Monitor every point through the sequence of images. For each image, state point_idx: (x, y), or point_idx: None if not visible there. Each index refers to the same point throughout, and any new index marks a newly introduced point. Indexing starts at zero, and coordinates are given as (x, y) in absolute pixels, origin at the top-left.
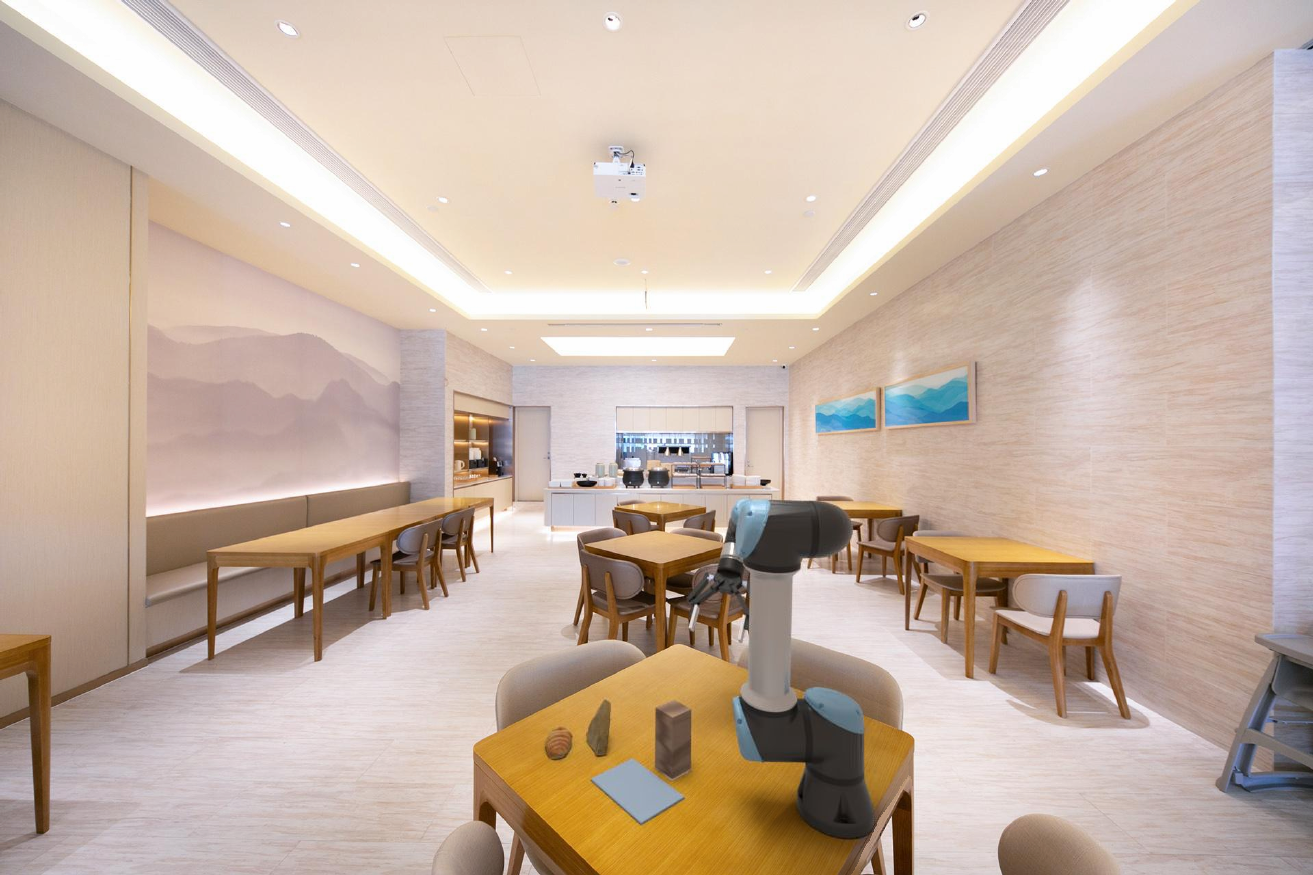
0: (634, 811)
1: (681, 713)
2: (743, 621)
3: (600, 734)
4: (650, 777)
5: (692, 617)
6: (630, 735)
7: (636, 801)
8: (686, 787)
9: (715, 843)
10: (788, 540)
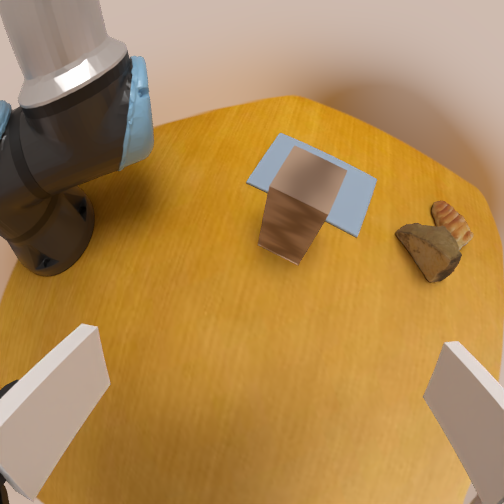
0: (296, 144)
1: (283, 163)
2: (7, 397)
3: (418, 224)
4: None
5: (491, 382)
6: (394, 302)
7: None
8: (251, 204)
9: (191, 136)
10: None
